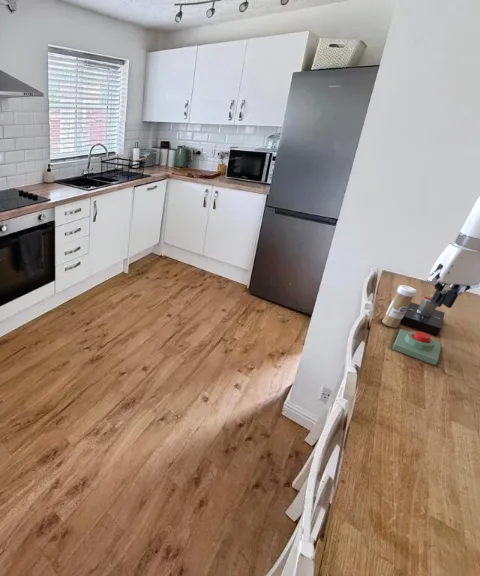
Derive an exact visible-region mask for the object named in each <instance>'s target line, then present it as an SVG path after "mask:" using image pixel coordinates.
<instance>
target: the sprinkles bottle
mask: <svg viewBox="0 0 480 576" xmlns="http://www.w3.org/2000/svg"><path fill="white" fill-rule="evenodd" d="M417 292H418V291H417V289H416V288H414V287H412V286H409V285H405V284H404V285H403V284H401V285H399V286H398V288H397V290H396V293H395V295H394V297H393V299H392V301H391V302H390V304H389V307H388V308H387V310H386V313H385V315H384V317H383V319H382V321H381V323H382V324H383V325H385V326H387V327H390V328H398V327H400V324H399V323H400V322H401V320H402V318H403V316H404V314H405V313H406V311H407V308H408V306H409V304H410V302H412V300H413V298H414V297H415V296H416V294H417Z"/></svg>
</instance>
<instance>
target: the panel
mask: <svg viewBox="0 0 480 576" xmlns="http://www.w3.org/2000/svg"><path fill="white" fill-rule="evenodd" d="M419 306H420V304H418V303H415V302H412V301H411V302H410V304H409V306H408V308H407V311H406V313H405V314H404V316H403V318H402V320H401V322H400V323H399V325H402V326H406V327H408V328H411V329H413V330H417V331H420V332H424V333H426V334H428V335H430V336H435V337H438V335H439V333H440V332H441V330H442V327H443V324H444V323H443V322H444V318H445V314H446V312H445V311H441V310H437V309H435V311H434V313H433V315H432V316H431V317H425V316H422V315H420V314H418V313H417V312H416V311H417V309H418V307H419Z"/></svg>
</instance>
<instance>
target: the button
mask: <svg viewBox="0 0 480 576" xmlns="http://www.w3.org/2000/svg"><path fill="white" fill-rule="evenodd" d="M414 332H415V334H414V336H413V338H414V339H416V340H417V341H420V342H423V343H428V342H429V340H430V339H432V335H431V334H429V333H426V332H423V331H420V330H417V331H414Z"/></svg>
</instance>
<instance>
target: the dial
mask: <svg viewBox="0 0 480 576" xmlns="http://www.w3.org/2000/svg"><path fill="white" fill-rule="evenodd" d="M432 297H433V296H426V295H424V296H423V298H422V300H421V302H420V304H419V305H420V306H419V307H418V309H417V311H416V312H417V313H418V314H420V315H422V316H425V317H431V316H432V315H433V313H434V311H435V310H437V308H438V307H437V306H436V305H434V304H433V303H432V302H431V299H432Z"/></svg>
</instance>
